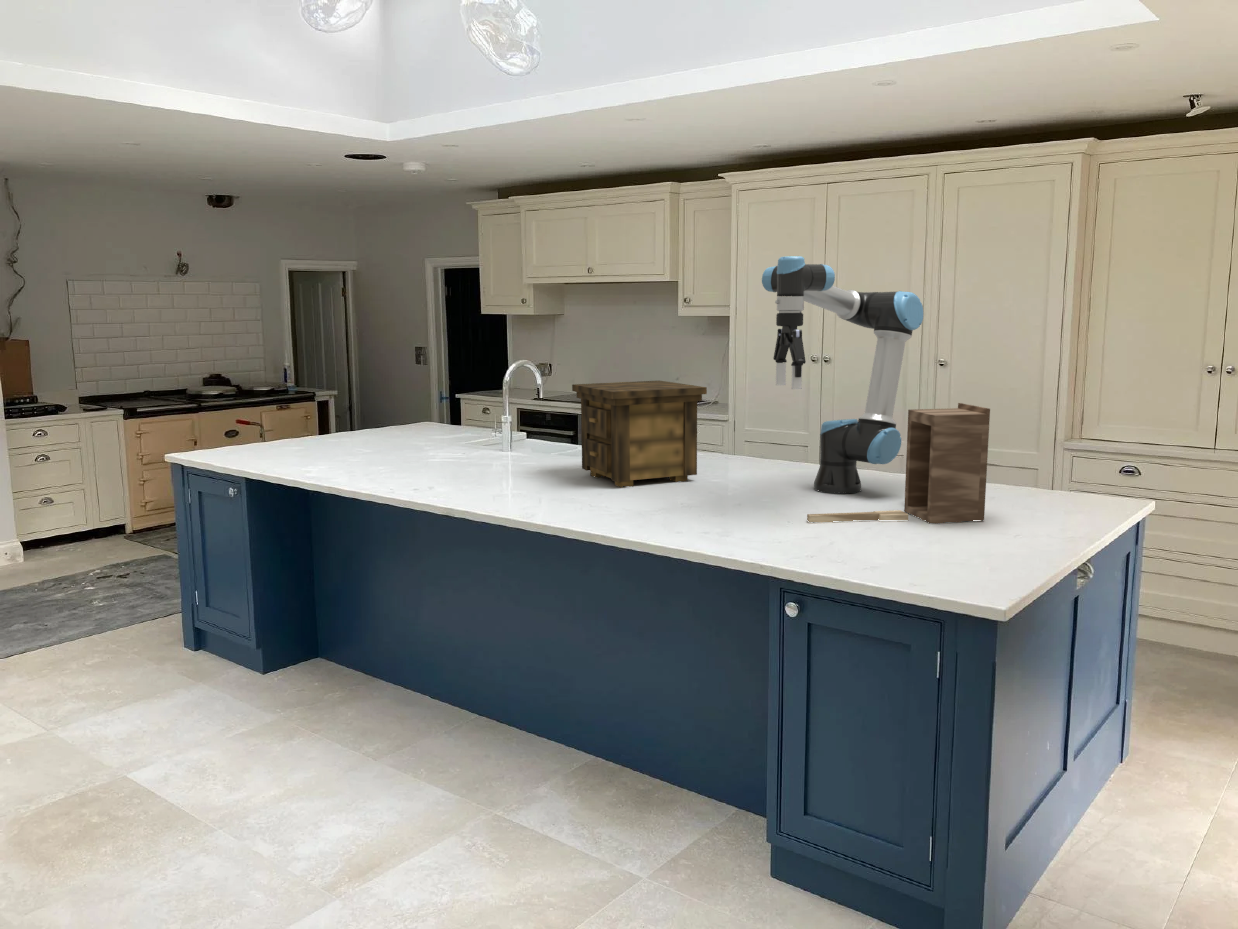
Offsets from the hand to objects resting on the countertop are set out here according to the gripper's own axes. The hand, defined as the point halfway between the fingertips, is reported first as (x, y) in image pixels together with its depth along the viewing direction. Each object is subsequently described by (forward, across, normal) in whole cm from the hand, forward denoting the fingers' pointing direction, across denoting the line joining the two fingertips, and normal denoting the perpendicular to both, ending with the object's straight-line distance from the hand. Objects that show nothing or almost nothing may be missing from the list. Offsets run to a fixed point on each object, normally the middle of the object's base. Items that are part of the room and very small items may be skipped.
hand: (788, 387), depth 274 cm
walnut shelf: (+37, +14, +42) cm, 58 cm away
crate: (+37, -65, -32) cm, 81 cm away
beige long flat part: (+37, +14, +16) cm, 42 cm away
